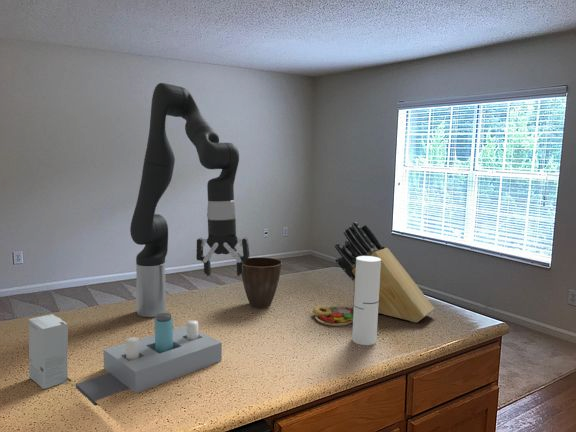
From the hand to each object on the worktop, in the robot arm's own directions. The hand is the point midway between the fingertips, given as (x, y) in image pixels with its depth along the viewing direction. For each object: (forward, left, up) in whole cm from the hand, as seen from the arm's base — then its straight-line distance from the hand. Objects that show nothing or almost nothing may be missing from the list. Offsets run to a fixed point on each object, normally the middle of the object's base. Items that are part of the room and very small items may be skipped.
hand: (223, 275), depth 129 cm
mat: (0, -34, -21) cm, 40 cm away
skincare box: (-13, -42, -21) cm, 49 cm away
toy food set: (+7, +41, -22) cm, 47 cm away
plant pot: (-20, +32, -21) cm, 44 cm away
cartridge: (0, -19, -20) cm, 27 cm away
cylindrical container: (+24, +34, -21) cm, 47 cm away
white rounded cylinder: (0, -27, -18) cm, 33 cm away
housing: (0, -19, -21) cm, 28 cm away
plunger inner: (0, -10, -18) cm, 21 cm away
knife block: (+12, +61, -21) cm, 66 cm away
